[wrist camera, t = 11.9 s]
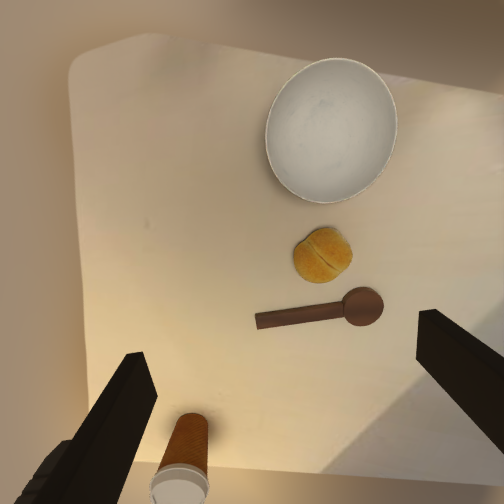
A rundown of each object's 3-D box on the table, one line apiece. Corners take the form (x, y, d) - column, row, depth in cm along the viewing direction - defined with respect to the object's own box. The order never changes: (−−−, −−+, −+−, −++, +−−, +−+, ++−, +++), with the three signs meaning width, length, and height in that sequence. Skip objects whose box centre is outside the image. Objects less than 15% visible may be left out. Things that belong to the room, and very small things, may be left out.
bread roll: (282, 256, 41) (286, 264, 37) (325, 218, 39) (334, 222, 35) (314, 289, 43) (321, 300, 39) (357, 254, 41) (369, 262, 37)
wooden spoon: (253, 302, 43) (253, 306, 42) (379, 284, 43) (384, 287, 41) (258, 336, 45) (259, 341, 44) (379, 318, 45) (383, 323, 43)
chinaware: (384, 108, 35) (422, 90, 27) (338, 211, 39) (360, 220, 31) (283, 64, 33) (295, 32, 25) (246, 177, 37) (246, 178, 30)
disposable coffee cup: (176, 401, 49) (155, 471, 37) (222, 414, 50) (216, 485, 39) (162, 435, 51) (139, 510, 40) (207, 446, 53) (197, 522, 41)
